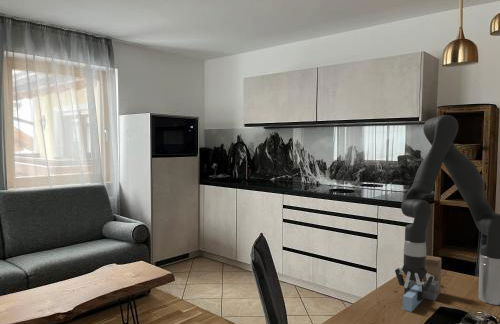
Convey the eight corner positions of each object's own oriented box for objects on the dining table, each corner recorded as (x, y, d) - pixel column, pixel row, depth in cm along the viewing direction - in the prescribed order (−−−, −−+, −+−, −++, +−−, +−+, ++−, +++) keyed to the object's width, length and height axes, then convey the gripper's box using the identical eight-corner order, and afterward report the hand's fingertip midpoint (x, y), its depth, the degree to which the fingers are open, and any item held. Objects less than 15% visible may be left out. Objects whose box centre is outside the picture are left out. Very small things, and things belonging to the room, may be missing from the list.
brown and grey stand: (413, 286, 159) (414, 253, 158) (441, 292, 152) (442, 258, 152) (405, 293, 151) (406, 258, 151) (434, 300, 145) (435, 264, 144)
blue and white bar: (418, 293, 152) (418, 281, 151) (426, 295, 150) (426, 283, 150) (402, 309, 137) (403, 295, 137) (411, 312, 135) (411, 298, 135)
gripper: (438, 254, 139) (437, 300, 140) (398, 247, 148) (397, 291, 149) (432, 259, 134) (431, 307, 134) (391, 251, 143) (390, 297, 143)
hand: (413, 298), depth 142 cm, fingers open, 3 cm apart
